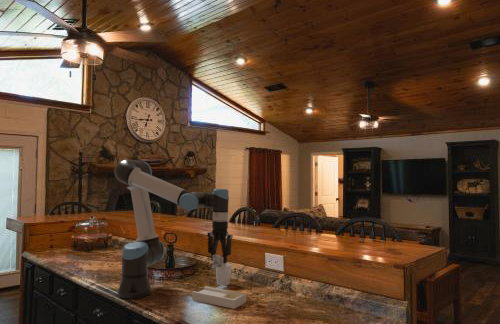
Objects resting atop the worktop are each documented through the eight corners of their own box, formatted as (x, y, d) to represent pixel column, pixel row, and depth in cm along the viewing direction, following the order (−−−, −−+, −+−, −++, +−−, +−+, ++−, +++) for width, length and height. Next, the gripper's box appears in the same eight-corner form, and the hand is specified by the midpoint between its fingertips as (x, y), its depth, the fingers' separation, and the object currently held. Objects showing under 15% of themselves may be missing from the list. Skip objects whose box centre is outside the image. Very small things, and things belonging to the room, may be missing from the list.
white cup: (213, 285, 192) (213, 265, 192) (219, 281, 199) (219, 262, 200) (227, 286, 189) (227, 266, 190) (233, 282, 197) (233, 263, 197)
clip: (212, 265, 181) (212, 256, 181) (217, 263, 185) (218, 254, 185) (220, 267, 179) (220, 257, 179) (225, 265, 182) (225, 255, 183)
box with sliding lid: (192, 299, 169) (192, 291, 169) (205, 293, 178) (205, 286, 178) (234, 308, 158) (234, 300, 158) (246, 302, 167) (246, 293, 167)
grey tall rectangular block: (211, 293, 178) (211, 289, 179) (221, 289, 185) (221, 285, 185) (217, 294, 177) (218, 290, 177) (227, 290, 184) (227, 286, 184)
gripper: (201, 219, 183) (199, 267, 183) (231, 222, 175) (229, 273, 174) (210, 218, 190) (208, 264, 189) (239, 221, 181) (238, 270, 180)
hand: (218, 268), depth 182 cm, fingers closed on clip, 4 cm apart
